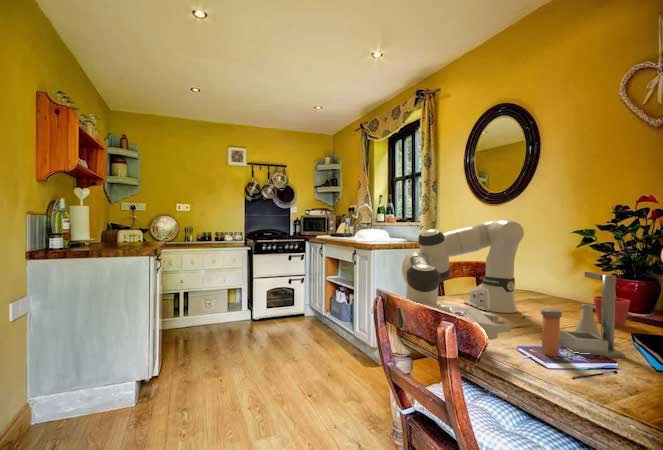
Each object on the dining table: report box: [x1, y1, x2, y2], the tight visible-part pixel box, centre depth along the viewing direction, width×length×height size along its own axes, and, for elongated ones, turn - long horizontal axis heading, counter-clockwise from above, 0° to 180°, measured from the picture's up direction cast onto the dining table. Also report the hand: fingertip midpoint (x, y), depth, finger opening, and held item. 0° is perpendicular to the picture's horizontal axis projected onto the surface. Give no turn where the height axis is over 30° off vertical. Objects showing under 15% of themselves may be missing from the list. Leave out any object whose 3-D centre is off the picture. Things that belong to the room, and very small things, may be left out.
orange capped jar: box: [540, 308, 563, 357], centre depth 95 cm, size 5×5×12 cm
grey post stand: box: [559, 271, 626, 359], centre depth 102 cm, size 13×15×22 cm
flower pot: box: [593, 295, 631, 328], centre depth 129 cm, size 11×11×10 cm
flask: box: [573, 303, 601, 338], centre depth 115 cm, size 7×7×10 cm
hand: (503, 323), depth 96 cm, fingers open, 8 cm apart
